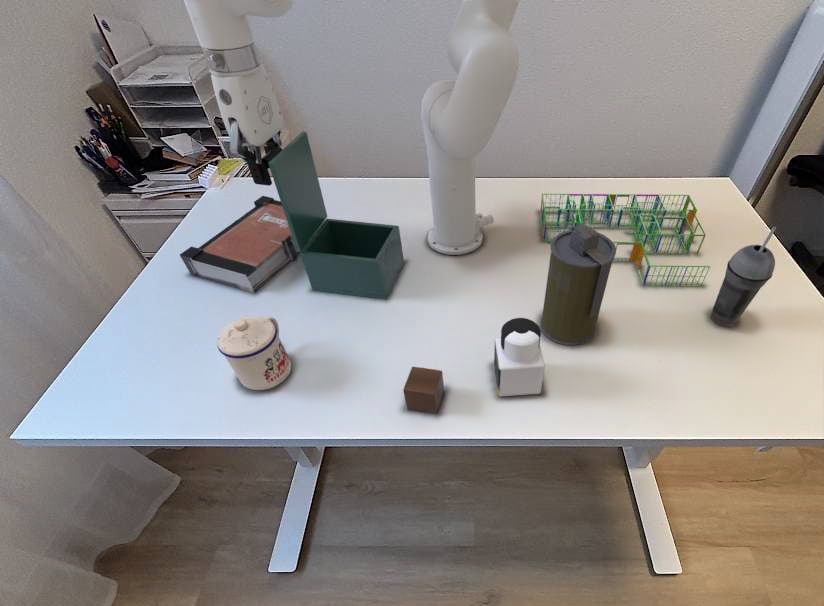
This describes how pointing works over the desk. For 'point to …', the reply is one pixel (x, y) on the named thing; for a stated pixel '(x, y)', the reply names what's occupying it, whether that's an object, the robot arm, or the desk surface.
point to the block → (424, 389)
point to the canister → (576, 284)
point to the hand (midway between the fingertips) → (271, 175)
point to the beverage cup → (743, 282)
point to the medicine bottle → (519, 358)
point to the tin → (353, 258)
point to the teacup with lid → (255, 351)
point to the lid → (298, 188)
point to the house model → (638, 247)
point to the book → (246, 249)
